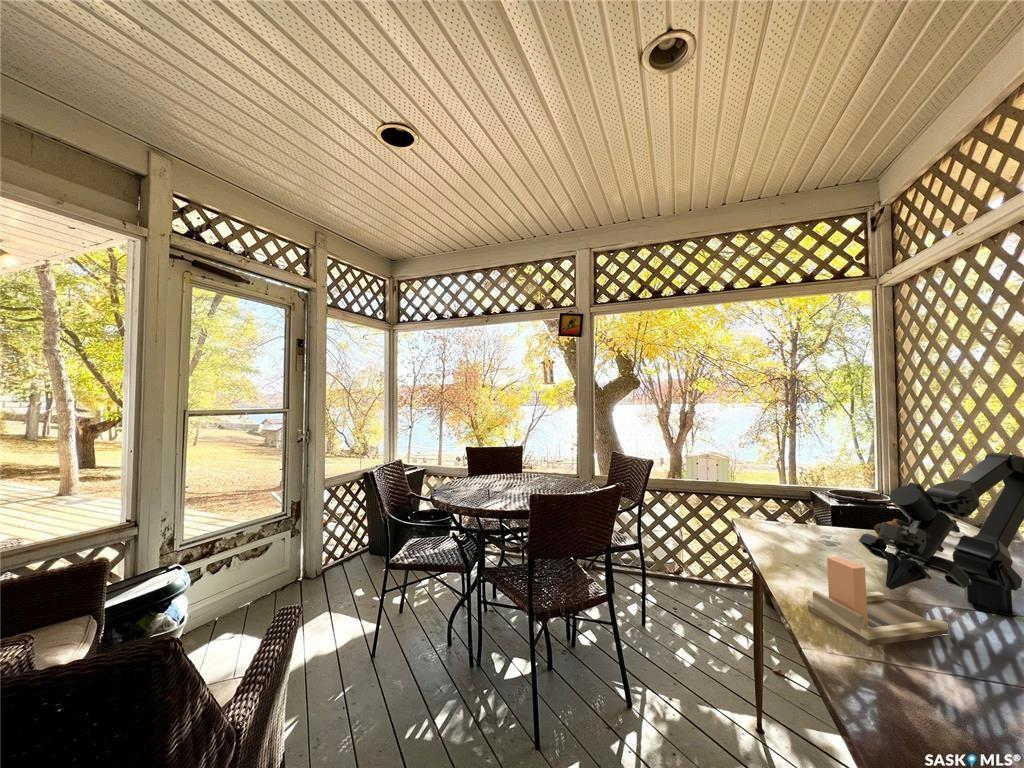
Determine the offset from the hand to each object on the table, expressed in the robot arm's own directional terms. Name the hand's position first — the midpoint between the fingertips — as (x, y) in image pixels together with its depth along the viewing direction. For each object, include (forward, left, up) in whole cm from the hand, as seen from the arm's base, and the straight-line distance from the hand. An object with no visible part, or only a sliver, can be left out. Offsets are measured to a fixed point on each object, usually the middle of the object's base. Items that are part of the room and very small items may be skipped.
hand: (888, 587), depth 91 cm
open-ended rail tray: (+3, +3, -7) cm, 8 cm away
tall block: (+8, +8, -5) cm, 12 cm away
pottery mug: (-8, -64, -7) cm, 65 cm away
